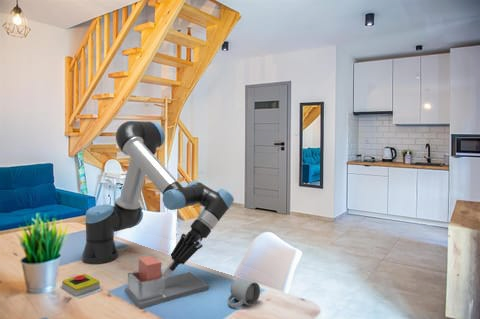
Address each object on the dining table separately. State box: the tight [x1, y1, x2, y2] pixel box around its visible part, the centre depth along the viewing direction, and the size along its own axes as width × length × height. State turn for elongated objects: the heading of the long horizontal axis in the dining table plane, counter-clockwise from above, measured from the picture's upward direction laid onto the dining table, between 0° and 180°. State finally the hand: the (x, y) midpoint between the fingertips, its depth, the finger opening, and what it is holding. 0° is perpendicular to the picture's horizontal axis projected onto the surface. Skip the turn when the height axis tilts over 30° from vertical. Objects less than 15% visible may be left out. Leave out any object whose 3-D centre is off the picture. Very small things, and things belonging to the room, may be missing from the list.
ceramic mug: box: [226, 277, 261, 309], centre depth 122 cm, size 11×8×8 cm
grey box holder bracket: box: [127, 270, 165, 302], centre depth 125 cm, size 11×9×6 cm
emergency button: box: [60, 273, 104, 299], centre depth 131 cm, size 9×4×15 cm
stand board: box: [124, 271, 210, 310], centre depth 130 cm, size 15×26×2 cm, turn 126°
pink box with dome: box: [138, 255, 163, 282], centre depth 126 cm, size 8×6×11 cm
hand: (163, 276), depth 129 cm, fingers closed
